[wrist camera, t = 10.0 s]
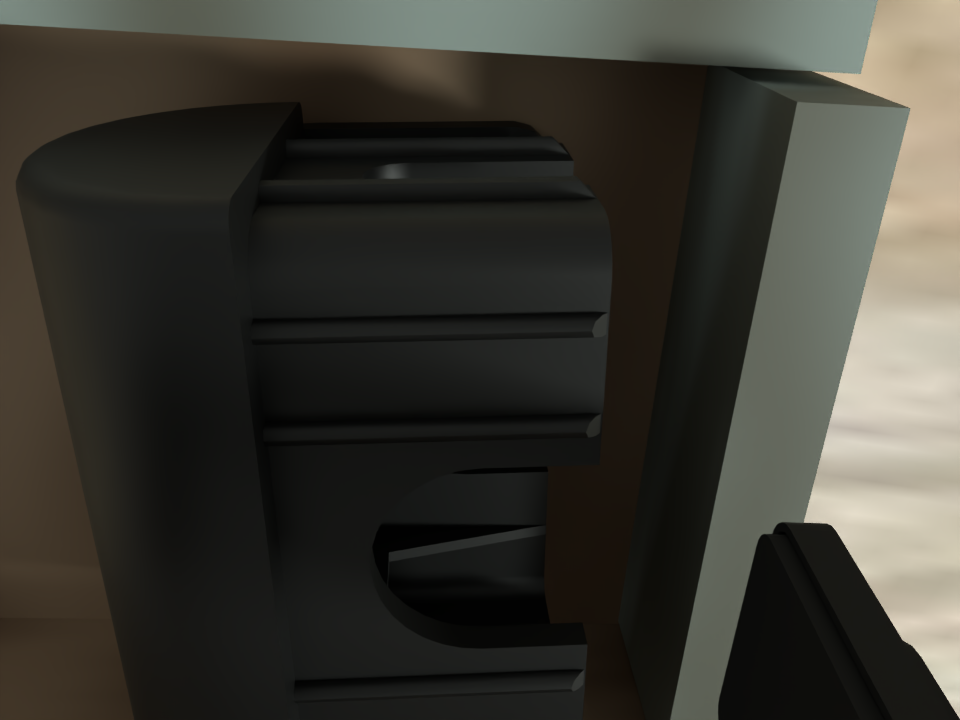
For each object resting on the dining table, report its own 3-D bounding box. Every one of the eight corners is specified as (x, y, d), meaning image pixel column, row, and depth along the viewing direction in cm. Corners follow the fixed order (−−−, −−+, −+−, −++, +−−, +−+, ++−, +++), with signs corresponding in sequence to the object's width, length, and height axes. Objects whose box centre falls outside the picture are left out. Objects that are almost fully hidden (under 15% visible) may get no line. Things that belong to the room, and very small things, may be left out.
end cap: (117, 93, 15) (-95, 209, 9) (548, 89, 15) (630, 199, 9) (198, 580, 19) (93, 884, 13) (532, 568, 20) (581, 859, 13)
